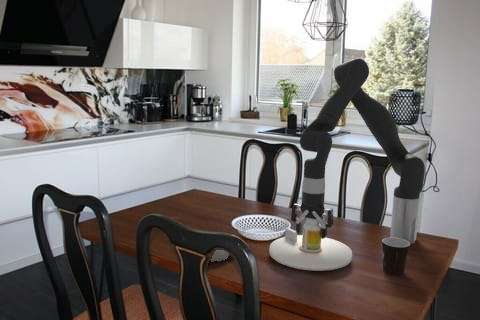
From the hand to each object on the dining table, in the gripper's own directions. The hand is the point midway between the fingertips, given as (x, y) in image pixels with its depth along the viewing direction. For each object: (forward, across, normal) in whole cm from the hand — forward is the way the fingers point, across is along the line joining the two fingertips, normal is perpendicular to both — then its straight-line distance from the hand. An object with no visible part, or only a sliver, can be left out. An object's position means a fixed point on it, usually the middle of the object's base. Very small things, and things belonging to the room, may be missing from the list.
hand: (311, 235), depth 164 cm
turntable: (+6, 0, 0) cm, 6 cm away
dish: (+8, +30, +14) cm, 34 cm away
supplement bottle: (+5, 0, 0) cm, 5 cm away
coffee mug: (+8, -27, -2) cm, 28 cm away
